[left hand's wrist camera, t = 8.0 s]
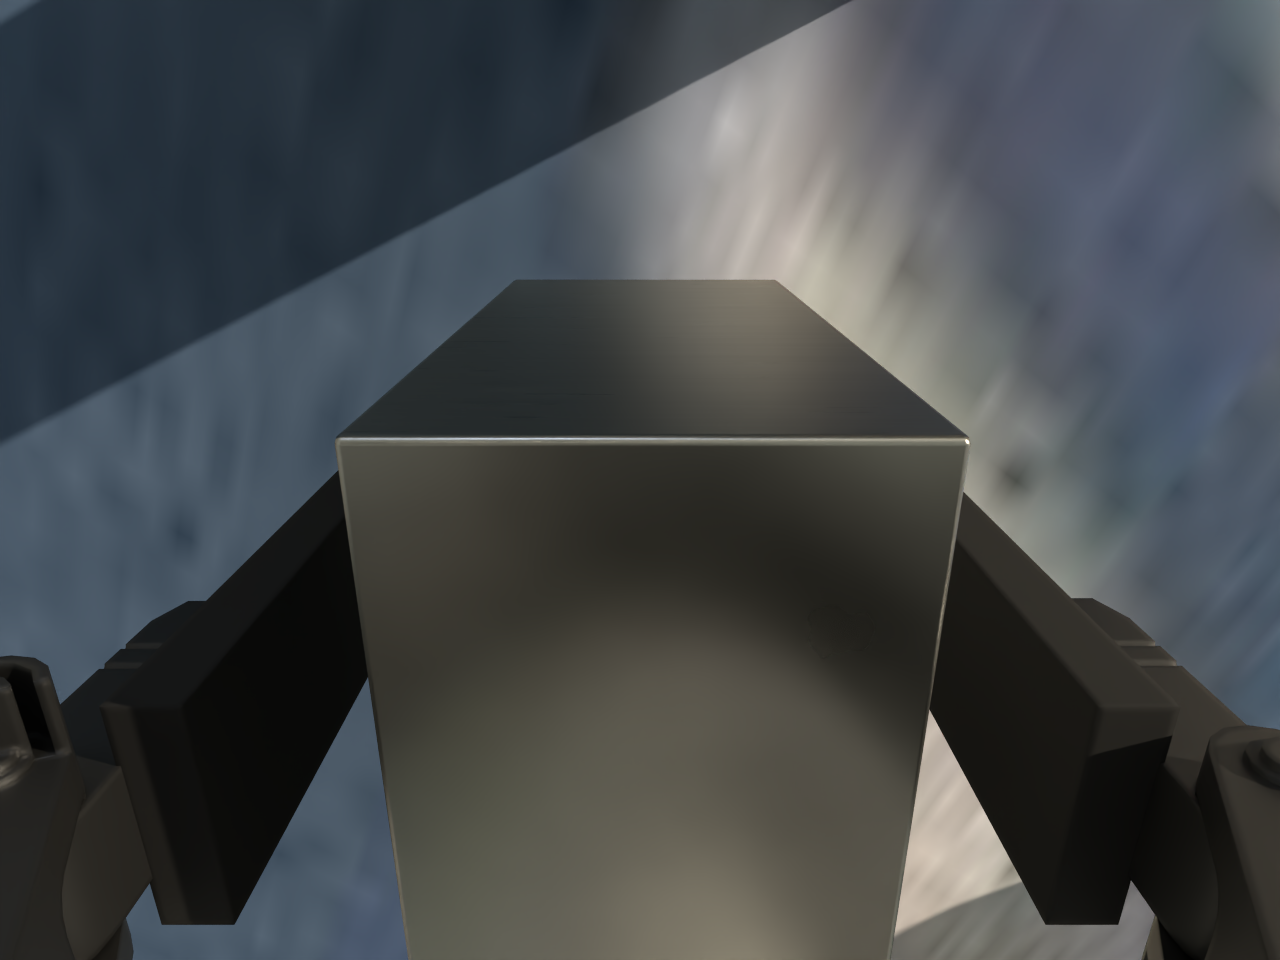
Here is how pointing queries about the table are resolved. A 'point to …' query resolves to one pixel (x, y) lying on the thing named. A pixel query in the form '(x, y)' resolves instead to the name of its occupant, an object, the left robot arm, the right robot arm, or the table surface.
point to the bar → (650, 625)
